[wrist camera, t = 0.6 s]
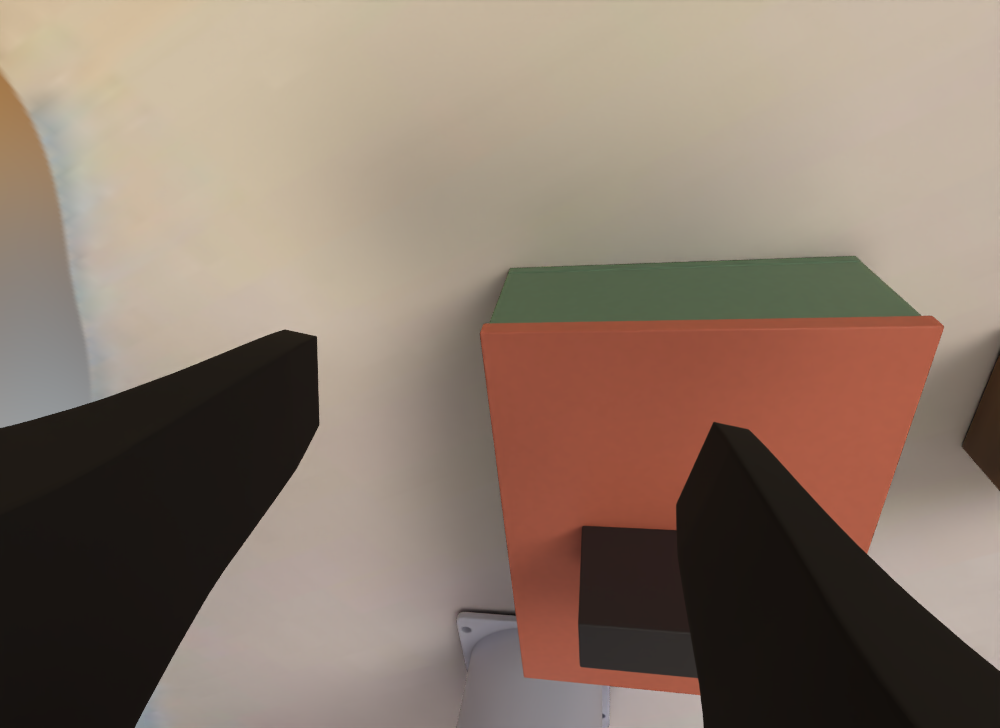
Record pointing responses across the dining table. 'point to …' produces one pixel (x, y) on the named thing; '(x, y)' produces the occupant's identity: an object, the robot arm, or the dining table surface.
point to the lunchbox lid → (673, 462)
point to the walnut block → (987, 430)
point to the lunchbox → (698, 291)
